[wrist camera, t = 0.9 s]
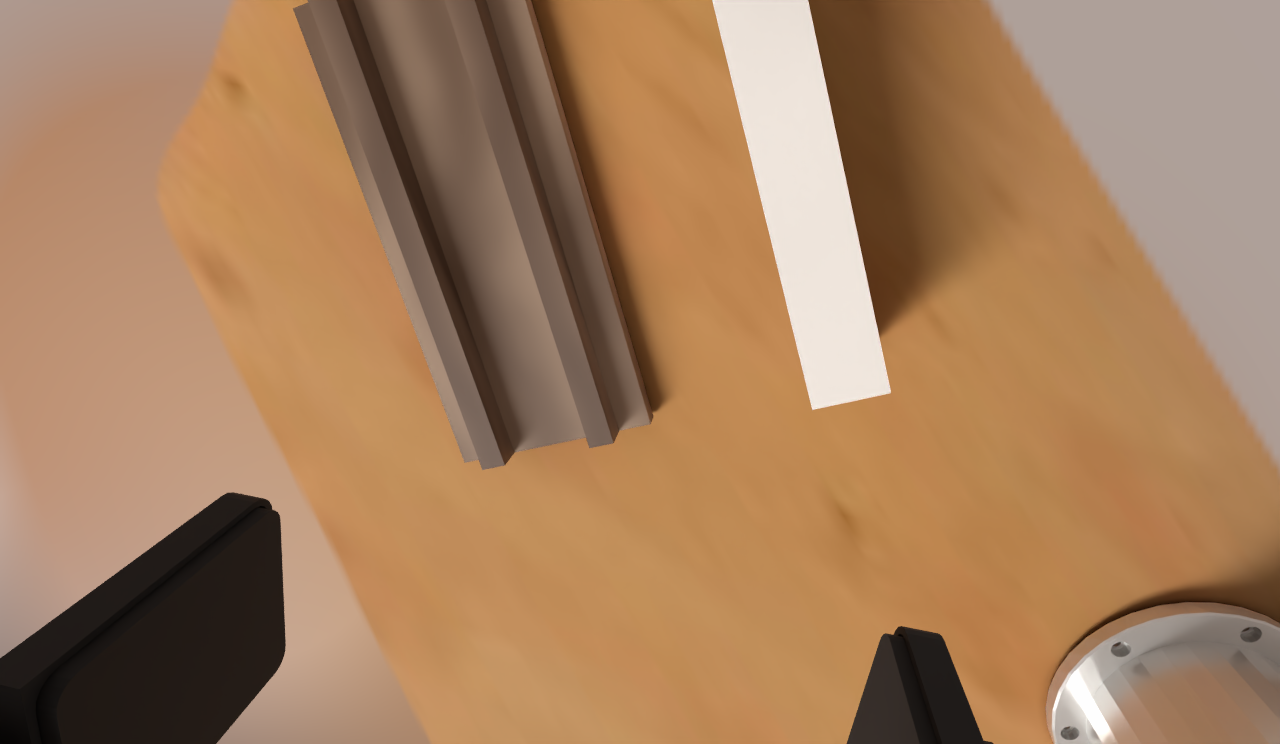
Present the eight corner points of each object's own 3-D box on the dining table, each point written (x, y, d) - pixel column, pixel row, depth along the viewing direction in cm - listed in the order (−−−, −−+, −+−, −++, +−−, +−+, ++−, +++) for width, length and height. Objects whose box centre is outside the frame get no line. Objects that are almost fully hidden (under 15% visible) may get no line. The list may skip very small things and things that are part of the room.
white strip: (787, -22, 29) (795, -59, 23) (867, 348, 33) (890, 392, 27) (715, 4, 30) (706, -26, 24) (802, 363, 34) (812, 409, 28)
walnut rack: (511, -67, 30) (490, -84, 27) (653, 416, 35) (646, 436, 33) (306, 12, 32) (270, 2, 30) (471, 454, 38) (453, 475, 35)
